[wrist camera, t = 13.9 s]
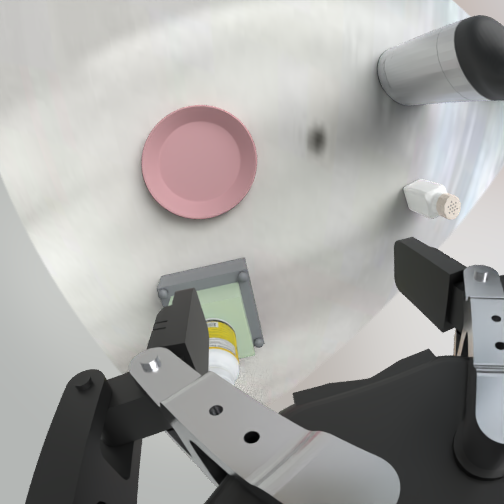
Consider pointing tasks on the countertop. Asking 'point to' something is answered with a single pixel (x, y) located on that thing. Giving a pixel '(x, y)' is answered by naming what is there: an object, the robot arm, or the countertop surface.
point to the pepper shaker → (431, 200)
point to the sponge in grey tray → (221, 298)
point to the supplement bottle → (223, 350)
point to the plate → (199, 162)
